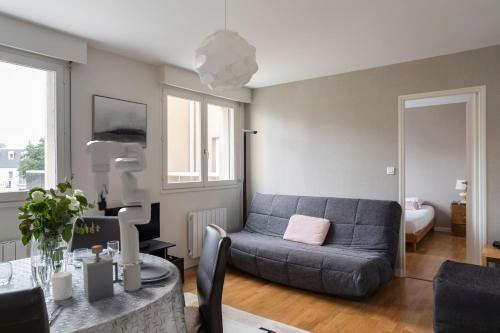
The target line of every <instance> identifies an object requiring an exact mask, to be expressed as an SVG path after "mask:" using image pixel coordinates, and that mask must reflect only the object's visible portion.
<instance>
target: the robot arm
mask: <svg viewBox="0 0 500 333" xmlns="http://www.w3.org/2000/svg"><path fill="white" fill-rule="evenodd" d="M85 152H86V155H87V156H88V157H89V158H90V162H91V163H90V164H91V165H90V166H91V173H92V174H93V182H92V185H93V188H92V189H93V194H94V195H96V196H97V200H98V201H97V206H98V208H97V209H98V211H99V212H102V211H107V210H108V206H107V196H108V195H109V194H110V182H109V173H111V161H110V159H115V161H114V167H115V169H116V171H117V174H118V175H119V177H120V180H121V202H122V205H125V206H134V207H123V208H121V209H120V210H119V211H118V212H117V213H118V214H117V218H118V223H119V230H120V253H121V254H120V257H121V258H120V260H119V262H118V266H120V267H124V266H125V265H124V264H125V263H127V262H130V261H137V262H139V264H140V265H141V263H142V262H143V259H142V258H140V244H139V243H140V242H139V231H138V229H137V227H136V226H135V225H145V224H149V223H150V221H151V216H152V214H151V211H152V207H151V206H152V198H151V191H150V189H148V188H147V187H139V188H138V178H137V177H136V176H135V174H134V173H144V172H146V170H147V169H148V162H147V158H146V155H145V152H144V149H143V146H142V145H141V144H140V143H139V142H119V141H115V140H113V141H112V140H111V141H110V140H93V141H89V142H88V143H86V146H85ZM137 205H138V206H137ZM140 206H141V207H140Z"/></svg>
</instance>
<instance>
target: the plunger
mask: <svg viewBox="0 0 500 333" xmlns="http://www.w3.org/2000/svg"><path fill="white" fill-rule="evenodd" d="M103 252H104V245H94V246H92V247H91V254H93V255H95V256H96V260H99V256H100V254H102V253H103Z"/></svg>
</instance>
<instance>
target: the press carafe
mask: <svg viewBox="0 0 500 333" xmlns="http://www.w3.org/2000/svg"><path fill="white" fill-rule="evenodd" d="M81 260H82V268H83V270H82V271H83V295H84V297H85V299H86V301H87V302H89V303H91V302H96V301H100V300H104V299H108V298H113V297H115V290H114V287H115V286H114V284H117V283H119V268H118V267H119V262H118V261H115V262H114V258H112V257H111V256H110V255H109V254H107V253H105V254H101V255H100V254H99V260H96V255H95V256H91V257H90V256H89V257H83V258H82V259H81Z"/></svg>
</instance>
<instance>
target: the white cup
mask: <svg viewBox="0 0 500 333" xmlns="http://www.w3.org/2000/svg"><path fill="white" fill-rule="evenodd" d="M50 279H51V280H50V281H51V289H52V298H53V300H54V301H56V302H57V301H64V300H68V299H69V298H71V297H72V293H73V292H72V288H73V272H72V271H70V270H69V271H68V270H67V271H60V272H56V273H53V274H51V275H50Z"/></svg>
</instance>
